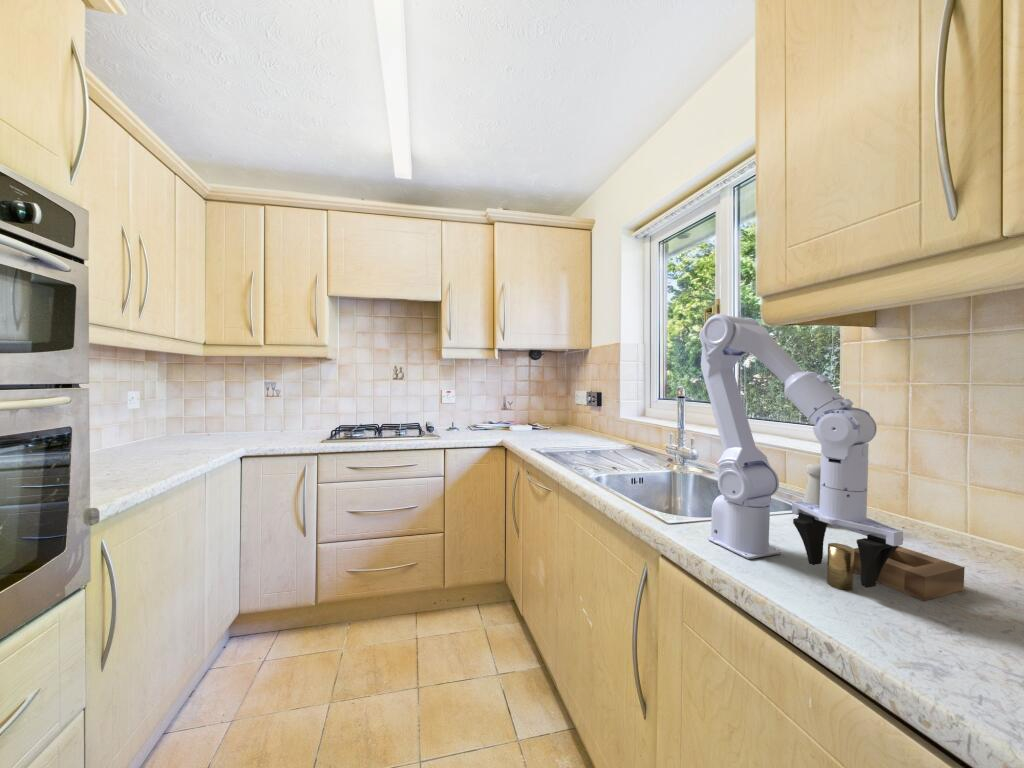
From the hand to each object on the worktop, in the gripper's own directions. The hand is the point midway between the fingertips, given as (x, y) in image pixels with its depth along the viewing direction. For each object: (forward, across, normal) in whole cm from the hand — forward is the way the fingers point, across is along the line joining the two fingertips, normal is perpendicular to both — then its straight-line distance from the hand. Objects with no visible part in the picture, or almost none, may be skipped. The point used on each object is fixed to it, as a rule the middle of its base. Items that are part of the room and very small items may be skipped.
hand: (840, 574), depth 65 cm
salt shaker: (+2, -21, +26) cm, 34 cm away
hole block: (+2, +2, +12) cm, 12 cm away
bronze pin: (+2, 0, 0) cm, 2 cm away
